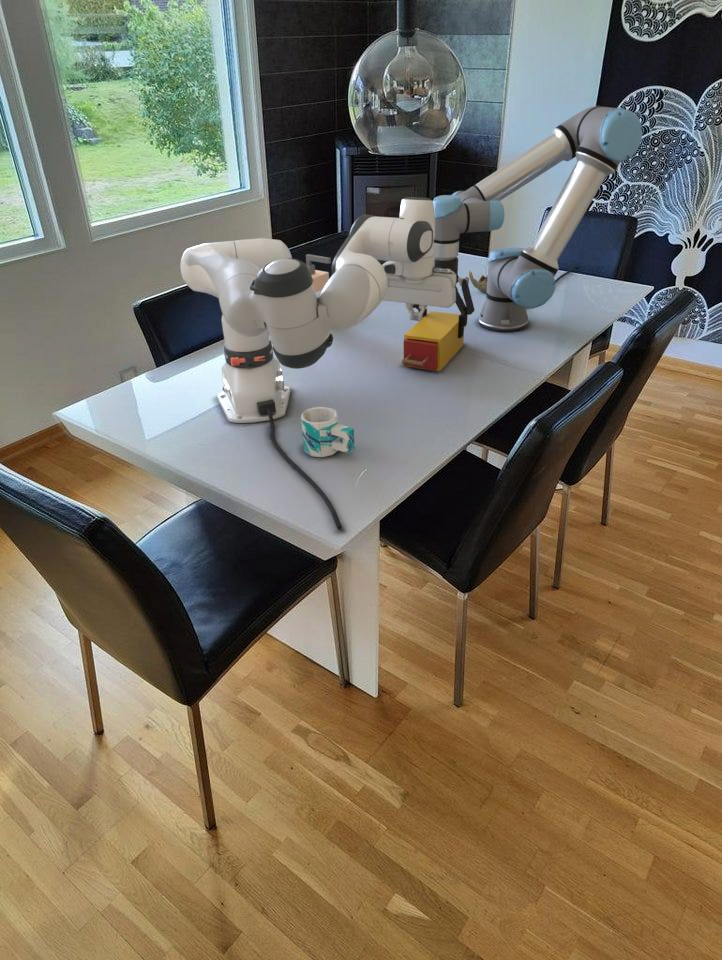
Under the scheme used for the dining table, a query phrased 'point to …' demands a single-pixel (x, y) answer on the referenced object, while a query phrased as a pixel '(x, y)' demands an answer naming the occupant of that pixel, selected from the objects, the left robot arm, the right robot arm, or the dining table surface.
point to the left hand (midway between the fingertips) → (416, 320)
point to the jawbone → (479, 282)
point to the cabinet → (439, 335)
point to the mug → (325, 433)
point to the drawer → (420, 354)
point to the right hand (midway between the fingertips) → (442, 334)
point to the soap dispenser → (318, 276)
